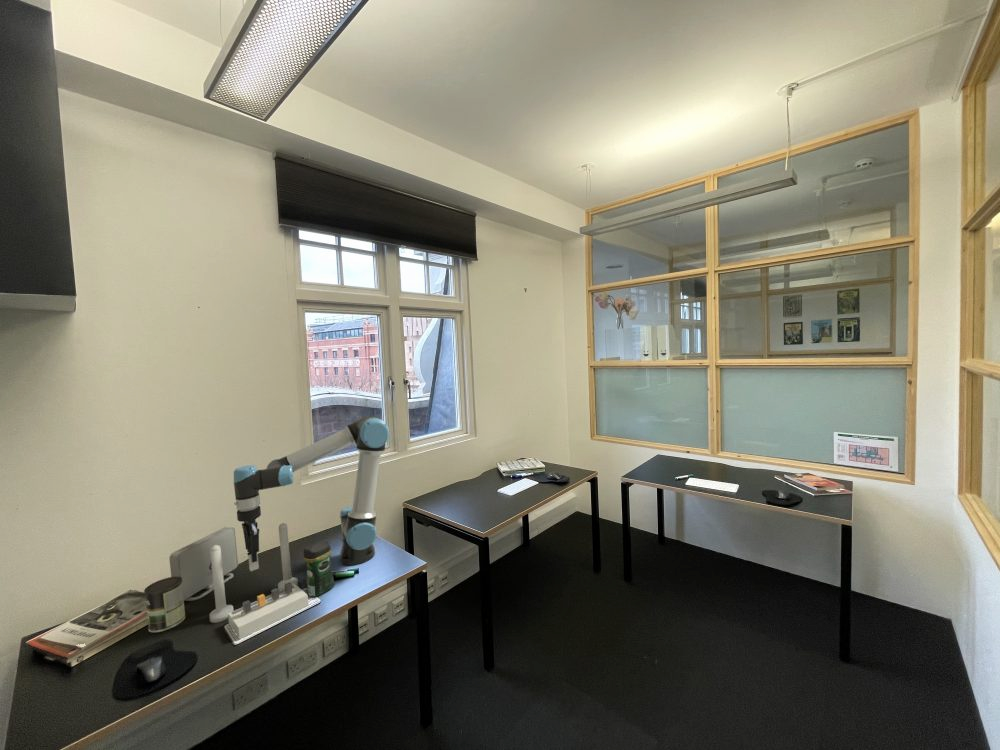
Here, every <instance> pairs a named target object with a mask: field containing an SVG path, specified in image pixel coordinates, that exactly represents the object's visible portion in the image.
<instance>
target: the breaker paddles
mask: <svg viewBox="0 0 1000 750" xmlns="http://www.w3.org/2000/svg"><path fill="white" fill-rule="evenodd" d="M292 592H294V589H292V584H291V583H290V582H289V583H287V584H285V593H283V594H280V595H279V590H278V587H275V588H274V589H272V590H270V593H271V594H272V598H271V599H269V600H267V601H265V597H266V595H265V594H264V593H262V594H260V595H257V596H256V599H257V600H256V601H258V605H256V606H253V607H251V601H250V600H246V601H245V600H244V601H243V602H242V607H243V611H242V612H241V615H243V614H245V613H247V612H250V611H252V610H254V609H256V608H258V607H261V606H263V605H265V604H267V603H270V602H272V601H274V600H276V599H278V598H281V597H283V596H285V595H287V594H289V593H292ZM271 594H270V595H271Z"/></svg>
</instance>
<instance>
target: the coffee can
mask: <svg viewBox="0 0 1000 750" xmlns="http://www.w3.org/2000/svg"><path fill="white" fill-rule="evenodd" d="M143 592H144V597H145V608H146V614H147V615H146V616H147V617H146V618H147V624H148V625H147V626H148V627H147V628H148V629H147V630H148V632H150V633H153V634H154V633H161V632H165V631H167V630H170V629H173V628H174V627H176V626H178V625H180V624H181V623H182V622H184V620H185V619H186V611H185V601H184V598H183V588H182V578H181V577H171V576H169V577H165V578H162V579H159V580H157V581H155V582H152V583H151V584H149V585H148V586H147V587H145V589H144V590H143Z"/></svg>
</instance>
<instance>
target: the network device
mask: <svg viewBox="0 0 1000 750" xmlns="http://www.w3.org/2000/svg"><path fill="white" fill-rule="evenodd" d="M214 545H219V546H220V548H221V557H222V567H223V577H227V578H224V584H225V583H227V582H228V581H229V579H230V580H231V579H232V578H234V573H232V571H234V570H235V569H236V568H238V566H239V560H238V559H239V558H238V549H237V548H238V546H237V537H236V528H235V527H232V526H230V527H228V526H225V527H223V528H221V529H219V530H217V531H215V532H212V533H210V534H208V535H206V536H204V537H202V538H200V539H198V540H196V541H193V542H192V543H190V544H188V545H186V546H182V547H181V548H179V549H178V550H175V551H173V552H172V553H171V554H170V556H169V557H168V559H169V568H170V577H181V578H182V588H183V598H184V602H193V601H197V600H199V599H201V598H203V597H205V596H207V595H208V594H209V593H211V592H212V591H214V583H213V573H212V563H211V553H210V549H211V548H212V547H213V546H214ZM203 589H204V590H206V591H205V592H203V593H201V594H200V595H198V596H195V597H192V596H193V595H195V594H196V593H198V592H200V591H202V590H203Z"/></svg>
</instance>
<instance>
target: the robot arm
mask: <svg viewBox="0 0 1000 750" xmlns="http://www.w3.org/2000/svg"><path fill="white" fill-rule="evenodd" d="M389 438H390V427H389V426H388V425H387V423H386V422H385V421H384V420H382V419H381V418H378V417H376V416H374V415H373V416H372V415H366V416H363V417H362V418H360V419H357V420H356V421H354V422H352V423H349V424H347V425H346V426H345V427H344V429H342V430H340V431H338V432H336V433H333V434H331V435H329V436H327V437H325V438H322V439H320V440H318V441H315V442H313V443H312V444H310V445H307V446H305V447H303V448H301V449H298V450H296V451H294V452H292V453H289V454H288V455H285V456H283V457H281V458H275V459H273V460H271V461H270V462H269V463H267V466H266V468H264V469H258V468H257V465H252V464H251V465H244V466H239V467H237V468H235V469H234V470H233V487H234V496H235V502H234V503H233V504H234V506H236V510H237V511H236V519H237V521H238V522H241V527H242V532H243V538H244V544H245V549H246V551H247V553H246V554H247V556H248V567H249V569H248V570H249V571H250V572H253V571H256V570H258V569H260V565H259V557H258V552H260V528H258V526H259V525H258V522H257V521H256V520H257V519H258V518H260V517H261V515H262V512H261V506H260V505H261V500H260V499H261V498H260V491H262V490H267V489H274V488H275V489H276V488H279V487H286V486H289V485H292V484H293V483H294V472H297V471H299V470H301V469H303V468H305V467H307V466H309V465H311V464H313V463H316V462H318V461H319V460H322V459H325V458H326V457H328V456H330V455H332V454H334V453H337V452H339V451H340V450H343V449H345V448H348V447H349V446H352V445H353V446H356V450H357V451H358V452H359V453H358V454H359V456H358V462H357V472H356V478H355V485H354V486H355V487H354V494H353V501H352V505H350V506H347V507H344V508H342V509H341V510H340V513H339V514H340V515H339V518H340V526H341V527H340V528H341V539H342V545H341V549H340V552H339V563H340V564H342V565H346V566H355V565H360V564H361V565H362V564H364V563H366V562H368V561H370V560H371V559H373V558H374V557H375V555H376V549H375V545H374V542H375V541H376V538H377V534H378V533H377V531H378V530H377V527H376V521H377V513H376V512H375V510H374V507H375V501H376V494H377V493H376V491H377V484H378V477H379V471H380V470H379V469H380V462H381V454H383V453H384V452H385V451H386V443H387V442H388V441H389Z"/></svg>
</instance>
